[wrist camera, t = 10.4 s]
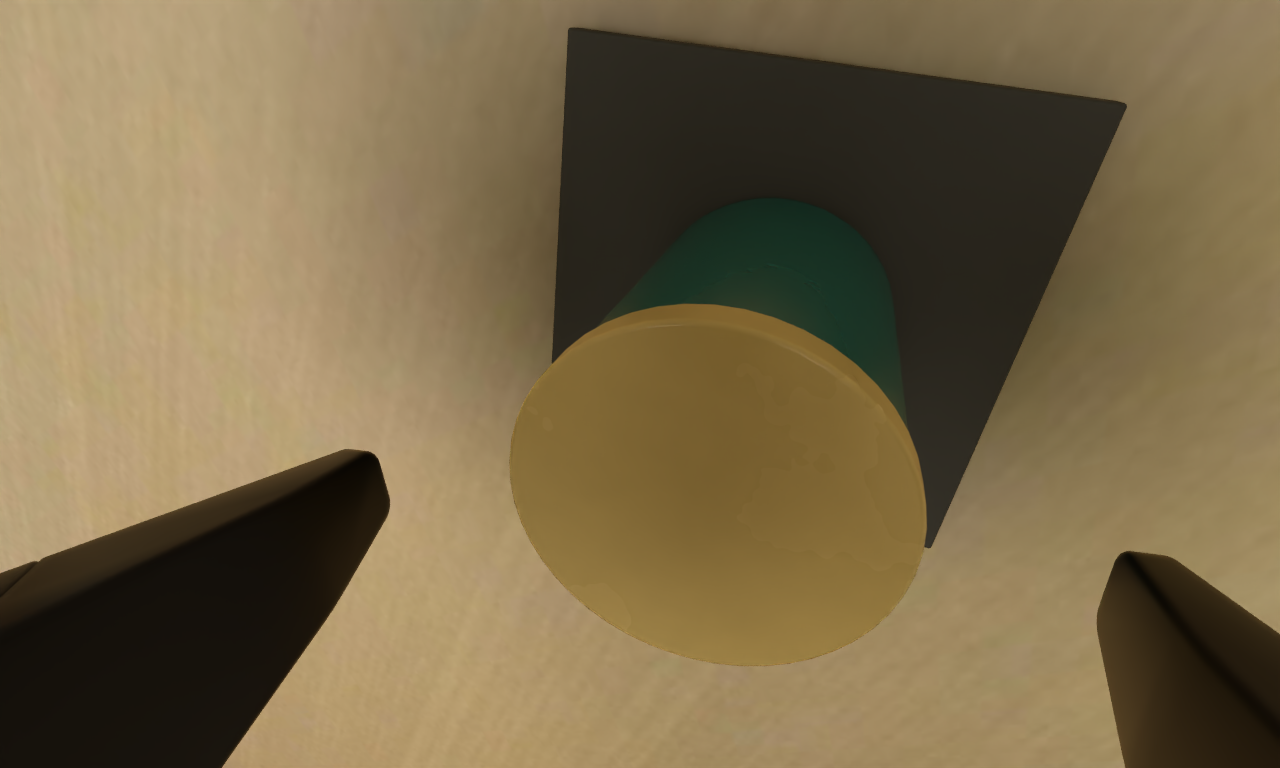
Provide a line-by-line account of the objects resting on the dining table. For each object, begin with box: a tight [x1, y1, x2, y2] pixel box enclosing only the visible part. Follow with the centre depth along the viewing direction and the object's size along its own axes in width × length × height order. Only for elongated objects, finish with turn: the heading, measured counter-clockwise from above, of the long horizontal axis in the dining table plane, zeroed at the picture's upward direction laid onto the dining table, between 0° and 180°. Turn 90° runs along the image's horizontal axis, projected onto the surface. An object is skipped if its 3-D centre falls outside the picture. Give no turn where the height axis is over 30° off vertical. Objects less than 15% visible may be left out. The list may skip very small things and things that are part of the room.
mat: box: [552, 28, 1127, 548], centre depth 15 cm, size 10×10×1 cm
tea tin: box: [509, 198, 927, 666], centre depth 11 cm, size 5×5×7 cm
